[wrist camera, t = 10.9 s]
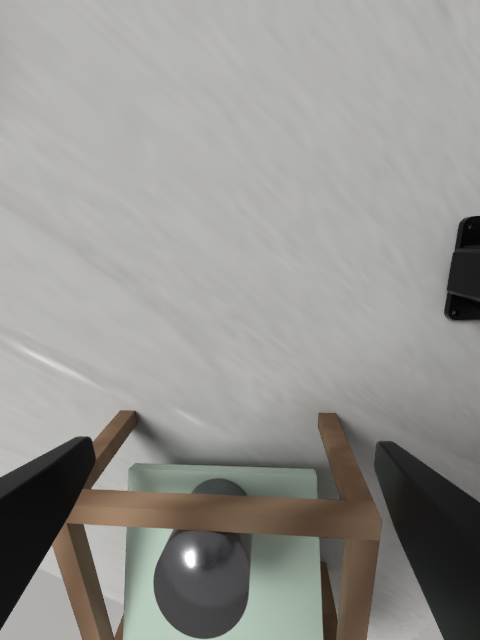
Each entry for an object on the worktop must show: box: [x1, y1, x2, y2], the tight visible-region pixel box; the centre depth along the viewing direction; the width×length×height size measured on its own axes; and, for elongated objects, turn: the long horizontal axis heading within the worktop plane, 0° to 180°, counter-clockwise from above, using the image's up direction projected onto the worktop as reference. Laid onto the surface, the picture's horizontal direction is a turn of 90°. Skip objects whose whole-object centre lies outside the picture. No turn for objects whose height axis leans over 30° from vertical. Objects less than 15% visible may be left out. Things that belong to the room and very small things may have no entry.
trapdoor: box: [123, 463, 323, 640], centre depth 19 cm, size 14×14×1 cm
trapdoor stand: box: [52, 411, 382, 640], centre depth 20 cm, size 18×18×8 cm
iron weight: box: [153, 478, 253, 639], centre depth 16 cm, size 5×5×6 cm
